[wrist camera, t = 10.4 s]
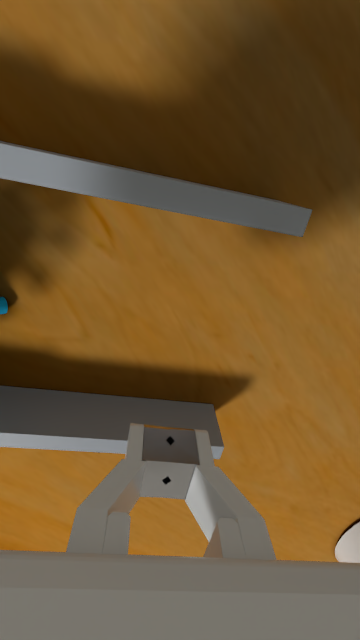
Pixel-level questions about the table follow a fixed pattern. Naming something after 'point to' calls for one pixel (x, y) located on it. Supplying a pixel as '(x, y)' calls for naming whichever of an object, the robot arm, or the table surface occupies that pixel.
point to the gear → (3, 305)
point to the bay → (107, 410)
